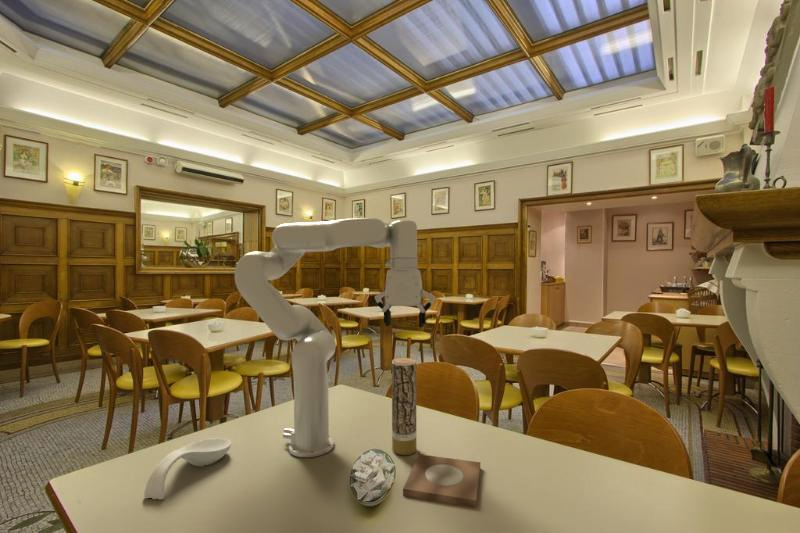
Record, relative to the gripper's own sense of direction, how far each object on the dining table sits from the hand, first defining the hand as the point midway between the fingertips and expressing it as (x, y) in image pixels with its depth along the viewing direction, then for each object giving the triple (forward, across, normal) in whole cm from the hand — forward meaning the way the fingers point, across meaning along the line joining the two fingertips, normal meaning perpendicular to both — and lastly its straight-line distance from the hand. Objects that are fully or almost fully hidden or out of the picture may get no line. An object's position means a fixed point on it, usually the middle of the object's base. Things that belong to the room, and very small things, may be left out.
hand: (404, 326), depth 104 cm
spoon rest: (+35, -49, -24) cm, 65 cm away
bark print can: (+35, 0, 0) cm, 35 cm away
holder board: (+35, +12, -12) cm, 39 cm away
